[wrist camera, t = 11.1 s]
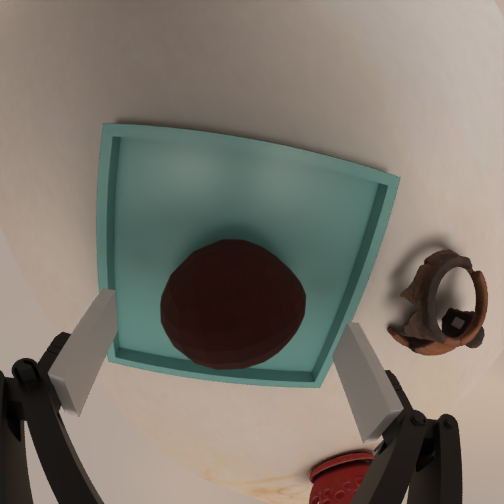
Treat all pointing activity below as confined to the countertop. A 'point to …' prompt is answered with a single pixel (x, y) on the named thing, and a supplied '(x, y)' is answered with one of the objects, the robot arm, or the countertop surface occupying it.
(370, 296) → the countertop surface
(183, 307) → the dark brown oval
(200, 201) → the teal tray
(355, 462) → the plant pot
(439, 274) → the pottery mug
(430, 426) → the robot arm
